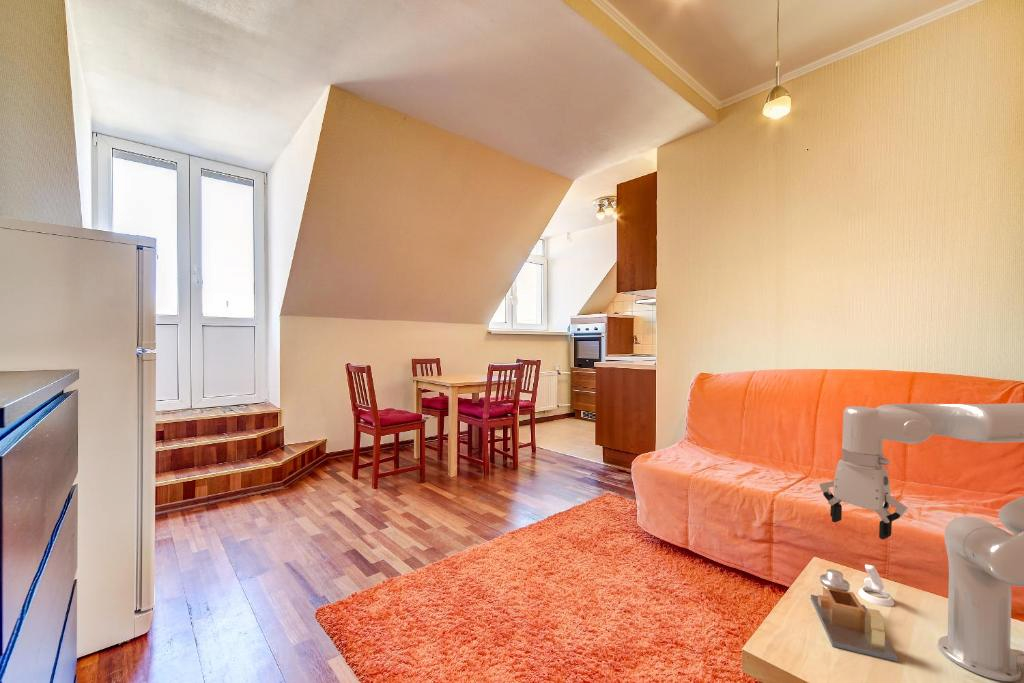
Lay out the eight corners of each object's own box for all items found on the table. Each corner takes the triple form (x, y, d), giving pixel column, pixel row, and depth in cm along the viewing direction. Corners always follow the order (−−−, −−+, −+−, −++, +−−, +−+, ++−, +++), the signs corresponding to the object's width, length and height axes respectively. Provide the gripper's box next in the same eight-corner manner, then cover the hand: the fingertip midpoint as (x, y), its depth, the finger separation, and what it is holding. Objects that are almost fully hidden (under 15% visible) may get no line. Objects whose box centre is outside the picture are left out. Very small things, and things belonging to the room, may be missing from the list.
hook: (847, 583, 118) (848, 560, 122) (861, 610, 121) (861, 587, 125) (882, 588, 112) (882, 565, 117) (896, 617, 115) (895, 593, 120)
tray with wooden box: (861, 606, 116) (862, 572, 116) (897, 662, 96) (898, 621, 96) (809, 595, 120) (809, 563, 120) (832, 646, 100) (833, 607, 100)
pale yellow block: (877, 638, 101) (878, 609, 101) (884, 649, 98) (885, 619, 98) (865, 635, 102) (865, 606, 102) (871, 646, 99) (872, 616, 99)
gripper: (915, 466, 97) (912, 541, 97) (829, 448, 112) (827, 512, 112) (900, 471, 93) (897, 548, 93) (813, 451, 109) (811, 518, 109)
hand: (859, 529), depth 103 cm, fingers open, 9 cm apart
